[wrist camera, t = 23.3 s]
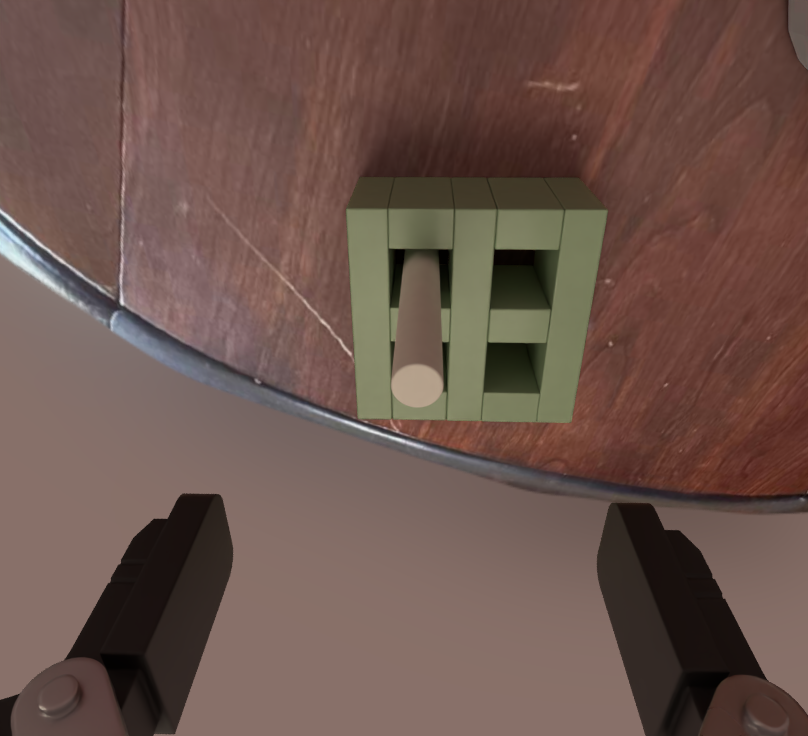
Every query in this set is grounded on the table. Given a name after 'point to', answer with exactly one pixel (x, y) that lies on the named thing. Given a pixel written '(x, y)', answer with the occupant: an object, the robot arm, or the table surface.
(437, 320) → the stylus
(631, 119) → the table surface
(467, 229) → the pen stand
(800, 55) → the mug
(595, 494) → the table surface
